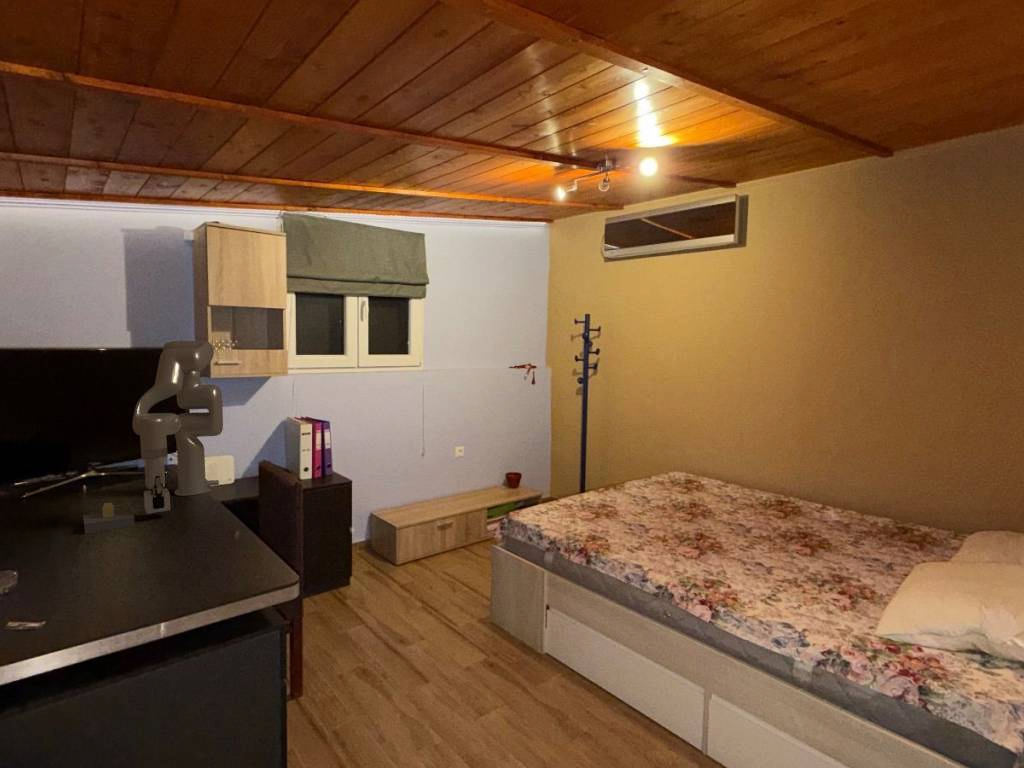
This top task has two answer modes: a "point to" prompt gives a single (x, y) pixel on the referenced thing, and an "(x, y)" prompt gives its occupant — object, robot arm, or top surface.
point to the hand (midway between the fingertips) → (157, 505)
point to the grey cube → (149, 501)
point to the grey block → (108, 519)
